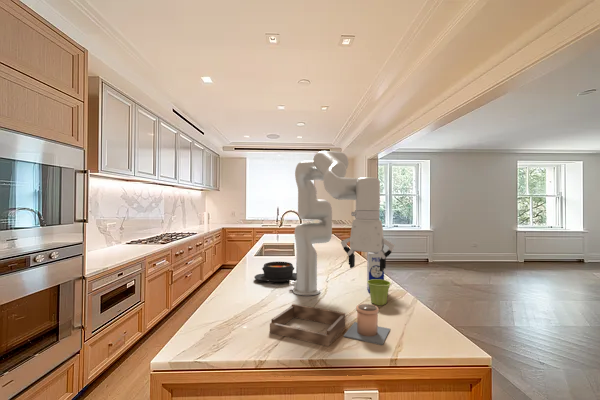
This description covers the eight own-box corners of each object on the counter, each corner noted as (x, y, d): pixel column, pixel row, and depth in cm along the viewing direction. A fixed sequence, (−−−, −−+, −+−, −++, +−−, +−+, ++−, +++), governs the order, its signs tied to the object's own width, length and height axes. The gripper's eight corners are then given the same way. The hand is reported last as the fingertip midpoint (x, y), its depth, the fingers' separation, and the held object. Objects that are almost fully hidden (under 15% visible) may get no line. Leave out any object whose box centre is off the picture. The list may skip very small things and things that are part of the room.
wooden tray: (269, 332, 100) (269, 318, 100) (292, 315, 114) (292, 303, 114) (328, 346, 91) (328, 330, 91) (345, 326, 105) (345, 312, 105)
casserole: (298, 275, 176) (298, 260, 175) (304, 284, 157) (305, 267, 157) (253, 276, 171) (253, 261, 171) (254, 286, 153) (254, 268, 153)
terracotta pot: (353, 334, 98) (353, 309, 98) (359, 325, 105) (359, 302, 105) (375, 338, 95) (376, 312, 95) (380, 329, 102) (380, 305, 102)
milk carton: (381, 289, 149) (382, 247, 149) (384, 293, 142) (384, 249, 142) (366, 288, 149) (367, 247, 149) (368, 293, 143) (368, 249, 143)
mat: (343, 336, 97) (343, 335, 97) (354, 323, 108) (354, 321, 108) (382, 345, 92) (382, 343, 92) (390, 329, 103) (390, 328, 103)
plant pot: (391, 307, 124) (391, 285, 124) (367, 306, 125) (367, 284, 125) (389, 300, 133) (389, 279, 133) (366, 298, 135) (367, 278, 135)
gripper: (338, 215, 101) (337, 268, 101) (393, 217, 93) (392, 274, 93) (345, 214, 108) (344, 263, 108) (397, 216, 100) (396, 269, 100)
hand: (366, 268), depth 101 cm, fingers open, 9 cm apart
